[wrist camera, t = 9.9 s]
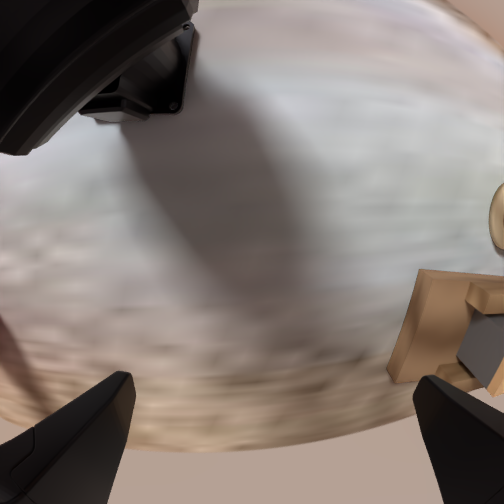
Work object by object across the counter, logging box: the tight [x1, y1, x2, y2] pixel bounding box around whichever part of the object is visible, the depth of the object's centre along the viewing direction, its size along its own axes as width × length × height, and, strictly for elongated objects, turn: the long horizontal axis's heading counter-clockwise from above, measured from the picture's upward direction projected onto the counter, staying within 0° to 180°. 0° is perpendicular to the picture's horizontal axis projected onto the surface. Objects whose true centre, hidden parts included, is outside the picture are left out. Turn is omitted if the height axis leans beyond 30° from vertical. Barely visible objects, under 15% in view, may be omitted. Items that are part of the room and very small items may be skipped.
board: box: [387, 269, 504, 392], centre depth 19 cm, size 9×11×4 cm
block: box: [456, 308, 504, 397], centre depth 16 cm, size 4×4×6 cm
